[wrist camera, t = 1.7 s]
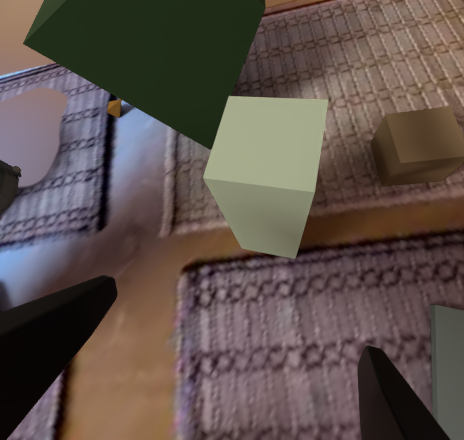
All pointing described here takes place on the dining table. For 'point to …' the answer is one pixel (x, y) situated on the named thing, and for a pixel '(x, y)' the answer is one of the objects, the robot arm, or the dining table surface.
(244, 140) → the sage block
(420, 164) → the walnut block
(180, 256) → the dining table surface
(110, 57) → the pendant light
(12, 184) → the lantern
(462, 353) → the slate mat
